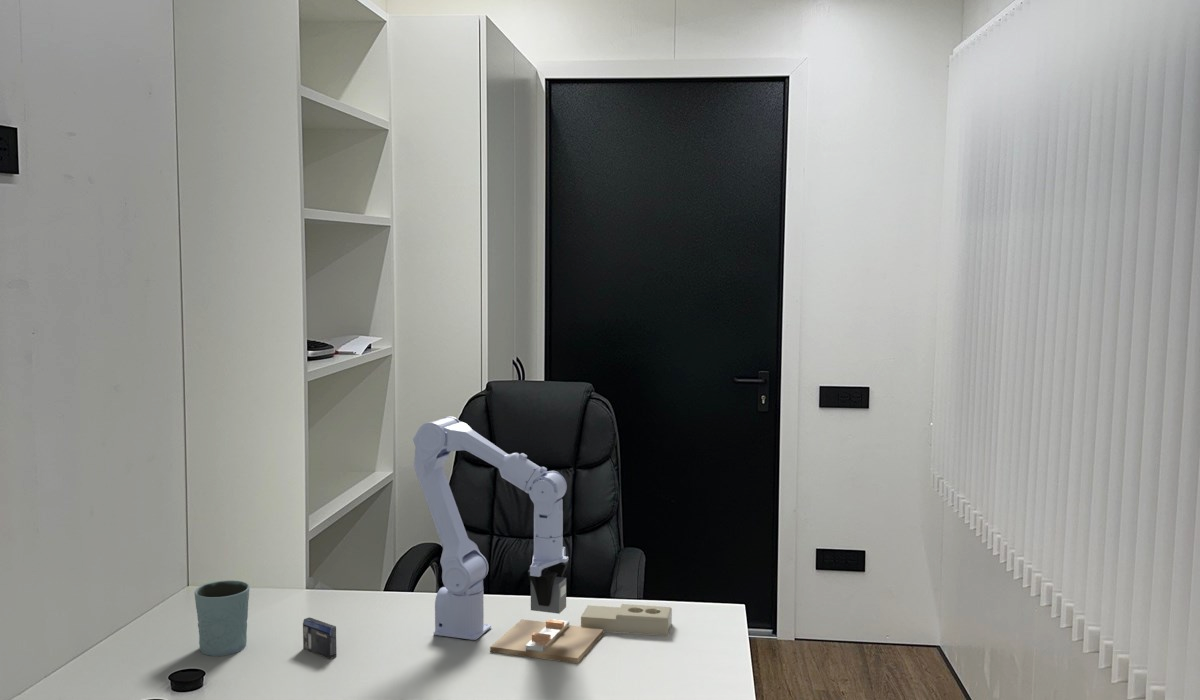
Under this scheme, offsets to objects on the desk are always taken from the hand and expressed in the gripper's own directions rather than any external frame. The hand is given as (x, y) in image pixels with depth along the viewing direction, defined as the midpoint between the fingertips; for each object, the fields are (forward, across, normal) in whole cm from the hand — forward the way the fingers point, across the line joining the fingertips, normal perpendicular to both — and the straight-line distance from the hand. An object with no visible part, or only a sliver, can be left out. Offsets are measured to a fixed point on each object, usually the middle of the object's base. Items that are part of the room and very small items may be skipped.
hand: (548, 601), depth 203 cm
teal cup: (+9, -23, +59) cm, 64 cm away
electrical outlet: (+9, +14, -12) cm, 20 cm away
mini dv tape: (+9, -19, +40) cm, 45 cm away
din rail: (+8, 0, 0) cm, 8 cm away
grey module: (+1, 0, 0) cm, 1 cm away
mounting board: (+8, 0, 0) cm, 8 cm away
